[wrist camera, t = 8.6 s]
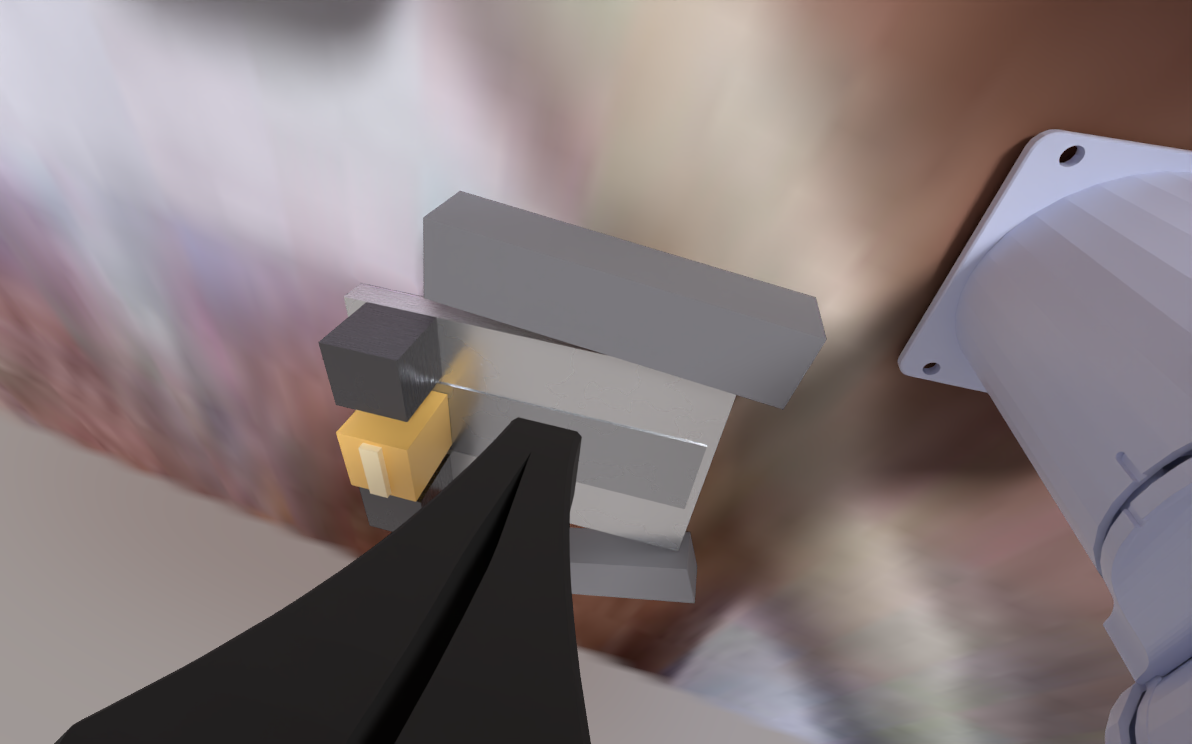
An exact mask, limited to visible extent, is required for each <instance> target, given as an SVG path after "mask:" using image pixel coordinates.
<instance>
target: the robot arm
mask: <svg viewBox="0 0 1192 744" xmlns="http://www.w3.org/2000/svg"><path fill="white" fill-rule="evenodd" d="M1072 146H1077V151H1076V153H1075V155H1074V156H1073V157H1072V158H1071V159H1070V160H1068V161H1066V162H1064V163H1060V162H1059V158H1060V156H1061V154H1062V153H1063V152H1064V151H1065V150H1066V149H1068V148H1070V147H1072ZM897 362H898V366H899V368H900V371H901V372H902V373H903V374H905V375H908V376H911V377H916V378H921V379H925V380H930V381H935V382H939V383H944V384H949V385H953V386H958V387H963V388H968V389H972V390H977V391H982V392H986V393H988V394H989V396H990V397H991V399H992V400H993V402H994V404H995V405H996V407H997V408H998V410H999V412H1000V413H1001V415H1002V417H1003V418H1004V420H1005V421H1006V423H1007V425H1008V426H1009V428H1010V429H1011V431H1012V433H1013V434H1014V436H1015V438H1016V439H1017V441H1018V442H1019V444H1020V446H1021V447H1022V449H1023V451H1024V452H1025V454H1026V455H1027V457H1028V459H1029V460H1030V462H1031V463H1032V465H1033V467H1034V468H1035V470H1036V472H1037V473H1038V475H1039V476H1040V478H1041V480H1042V481H1043V483H1044V485H1045V486H1046V488H1047V489H1048V491H1049V493H1050V494H1051V496H1052V497H1053V499H1054V501H1055V502H1056V504H1057V506H1058V507H1059V509H1060V510H1061V512H1062V514H1063V515H1064V517H1065V518H1066V520H1067V522H1068V523H1069V525H1070V527H1071V528H1072V530H1073V531H1074V533H1075V535H1076V536H1077V538H1078V540H1079V541H1080V543H1081V544H1082V546H1083V548H1084V549H1085V551H1086V552H1087V554H1088V556H1089V557H1090V559H1091V561H1092V562H1093V564H1094V565H1095V567H1096V569H1097V570H1098V572H1099V573H1100V575H1101V576H1102V578H1103V579H1104V581H1105V583H1106V585H1107V587H1108V589H1109V591H1110V593H1111V595H1112V597H1113V599H1114V608H1113V611H1112V613H1111V615H1110V616H1109V617H1108V619H1107V620H1106V621H1105V622H1104V624H1103V626H1104V628H1105V629H1106V631H1107V633H1108V635H1109V636H1110V638H1111V640H1112V642H1113V643H1114V645H1115V647H1116V649H1117V650H1118V652H1119V654H1120V656H1121V657H1122V659H1123V661H1124V663H1125V664H1126V666H1127V668H1128V670H1129V671H1130V673H1131V675H1132V677H1133V678H1134V680H1135V682H1136V683H1134V684H1133V685H1132V686H1131V687H1129V688H1128V689H1127V690H1125V691H1124V692H1123V693H1121V695H1120V697H1119V698H1118V700H1117V701H1116V703H1115V704H1114V706H1113V707H1112V709H1111V711H1110V715H1109V719H1108V723H1107V727H1106V731H1105V744H1192V151H1191V150H1184V149H1178V148H1172V147H1166V146H1159V145H1153V144H1147V143H1140V142H1134V141H1128V140H1122V139H1115V138H1109V137H1103V136H1097V135H1090V134H1084V133H1078V132H1071V131H1065V130H1059V129H1053V130H1047V131H1044V132H1041V133H1039V134H1037V135H1036V136H1035V137H1033V138H1032V139H1031V140H1030V141H1029V142H1028V143H1027V145H1026V146H1025V147H1024V149H1023V151H1022V152H1021V154H1020V156H1019V157H1018V159H1017V161H1016V162H1015V164H1014V166H1013V167H1012V169H1011V171H1010V172H1009V174H1008V176H1007V177H1006V179H1005V181H1004V182H1003V184H1002V186H1001V187H1000V189H999V191H998V192H997V194H996V196H995V197H994V199H993V201H992V202H991V204H990V206H989V207H988V209H987V211H986V212H985V214H984V216H983V217H982V219H981V221H980V222H979V224H978V226H977V227H976V229H975V231H974V232H973V234H972V236H971V237H970V239H969V241H968V242H967V244H966V246H965V247H964V249H963V251H962V252H961V254H960V256H959V257H958V259H957V261H956V262H955V264H954V266H953V267H952V269H951V271H950V272H949V274H948V276H947V277H946V279H945V281H944V282H943V284H942V286H941V287H940V289H939V291H938V292H937V294H936V296H935V297H934V299H933V301H932V302H931V304H930V306H929V307H928V309H927V311H926V312H925V314H924V316H923V317H922V319H921V321H920V322H919V324H918V326H917V327H916V329H915V331H914V332H913V334H912V336H911V337H910V339H909V341H908V342H907V344H906V346H905V347H904V349H903V351H902V352H901V354H900V356H899V358H898V361H897ZM928 363H936V364H935V365H934V366H933V367H931V368H923V367H924V366H925V365H926V364H928ZM581 440H582V436H581V435H580V434H579V433H578V432H577V431H574V430H570V429H565V428H561V427H557V426H553V425H549V424H545V423H540V422H536V421H532V420H528V419H524V418H520V417H518V418H516V419H514V420H512V421H511V422H510V424H509V425H508V426H507V427H506V428H505V429H504V430H503V431H502V432H501V433H500V434H499V436H498V437H497V438H496V439H495V440H494V441H493V442H492V443H491V444H490V445H489V446H488V447H487V448H486V449H485V450H484V451H483V452H482V453H481V454H480V455H479V456H478V457H477V458H476V459H475V460H474V461H473V462H472V463H471V464H470V465H469V466H468V467H467V468H466V469H465V470H463V471H462V472H461V473H460V474H459V475H458V476H457V477H456V478H455V479H454V480H453V481H452V482H451V483H449V484H448V485H447V486H446V487H445V488H444V489H443V490H442V491H441V492H440V493H439V494H437V495H436V496H435V497H434V498H433V499H432V500H431V501H429V502H428V503H427V504H426V505H425V506H423V507H422V508H421V509H420V510H419V511H417V512H416V513H415V514H414V515H413V516H411V517H410V518H409V519H408V520H407V521H405V522H404V523H403V524H402V525H401V526H399V527H398V528H397V529H396V530H394V531H393V532H392V533H391V534H389V535H388V536H387V537H385V538H384V539H383V540H382V541H380V542H379V543H378V544H376V545H375V546H374V547H372V548H371V549H370V550H368V551H367V552H366V553H364V554H363V555H361V556H360V557H359V558H357V559H356V560H355V561H353V562H352V563H350V564H349V565H348V566H346V567H345V568H343V569H342V570H341V571H339V572H338V573H336V574H335V575H333V576H332V577H330V578H329V579H327V580H326V581H324V582H323V583H321V584H320V585H318V586H317V587H315V588H314V589H312V590H311V591H310V592H308V593H306V594H305V595H303V596H302V597H300V598H299V599H297V600H296V601H294V602H293V603H291V604H289V605H288V606H286V607H285V608H283V609H282V610H280V611H278V612H277V613H275V614H274V615H272V616H270V617H269V618H267V619H265V620H263V621H262V622H260V623H258V624H257V625H255V626H253V627H252V628H250V629H248V630H246V631H245V632H243V633H241V634H240V635H238V636H236V637H235V638H233V639H231V640H229V641H228V642H226V643H224V644H223V645H221V646H219V647H218V648H216V649H214V650H212V651H211V652H209V653H207V654H206V655H204V656H202V657H200V658H198V659H197V660H195V661H193V662H191V663H189V664H188V665H186V666H184V667H182V668H180V669H179V670H177V671H175V672H173V673H171V674H169V675H167V676H165V677H163V678H161V679H160V680H157V681H156V682H154V683H152V684H150V685H148V686H146V687H144V688H142V689H140V690H138V691H136V692H135V693H133V694H131V695H129V696H127V697H125V698H123V699H121V700H119V701H117V702H116V703H113V704H112V705H110V706H108V707H106V708H104V709H102V710H100V711H98V712H96V713H94V714H92V715H90V716H88V717H86V718H84V719H83V720H81V721H79V722H77V723H76V724H74V725H73V726H71V727H70V728H69V730H67V732H66V733H64V734H63V736H61V737H60V739H58V740H57V741H56V743H54V744H591V742H590V735H589V729H588V723H587V716H586V709H585V703H584V697H583V690H582V683H581V677H580V669H579V660H578V652H577V644H576V635H575V624H574V614H573V602H572V589H571V570H570V536H569V534H570V510H571V506H572V502H573V498H574V493H575V486H576V478H577V470H578V463H579V455H580V448H581Z"/></svg>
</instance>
